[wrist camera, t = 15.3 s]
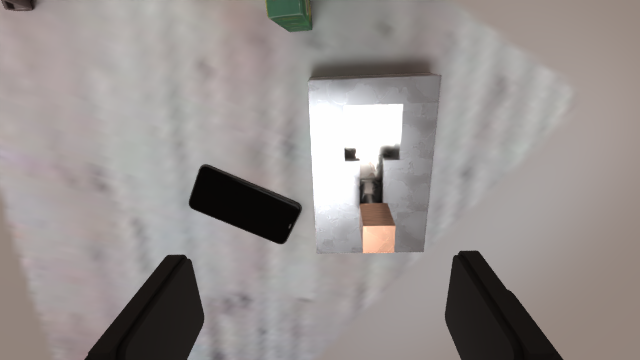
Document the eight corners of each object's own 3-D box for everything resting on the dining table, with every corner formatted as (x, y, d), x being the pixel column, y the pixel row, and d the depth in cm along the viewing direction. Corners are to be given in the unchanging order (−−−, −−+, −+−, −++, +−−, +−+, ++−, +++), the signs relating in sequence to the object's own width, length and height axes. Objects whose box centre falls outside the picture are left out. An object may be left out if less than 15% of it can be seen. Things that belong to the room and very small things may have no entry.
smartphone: (188, 204, 45) (284, 244, 47) (186, 207, 44) (283, 247, 46) (203, 160, 42) (304, 204, 44) (200, 162, 42) (303, 206, 43)
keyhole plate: (310, 77, 37) (307, 80, 33) (429, 72, 37) (441, 75, 33) (318, 235, 46) (316, 253, 42) (415, 233, 45) (423, 251, 41)
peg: (351, 179, 41) (357, 221, 31) (384, 178, 41) (401, 220, 31) (351, 209, 43) (357, 257, 33) (383, 208, 43) (399, 257, 32)
